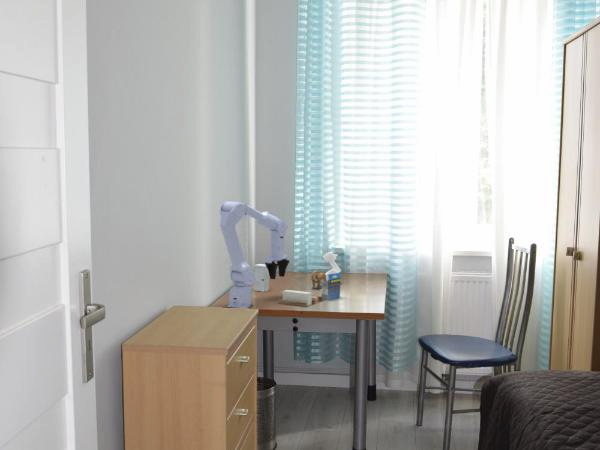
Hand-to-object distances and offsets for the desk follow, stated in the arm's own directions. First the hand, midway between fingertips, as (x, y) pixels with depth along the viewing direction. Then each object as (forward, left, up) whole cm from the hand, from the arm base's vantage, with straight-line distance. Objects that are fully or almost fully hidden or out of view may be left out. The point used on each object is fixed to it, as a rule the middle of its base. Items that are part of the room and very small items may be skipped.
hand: (277, 277), depth 312 cm
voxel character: (+51, -1, -10) cm, 52 cm away
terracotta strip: (+2, -13, -9) cm, 16 cm away
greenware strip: (-6, -13, -9) cm, 17 cm away
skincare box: (+16, +18, -10) cm, 26 cm away
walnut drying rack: (-2, -13, -10) cm, 16 cm away
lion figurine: (+38, -1, -10) cm, 39 cm away
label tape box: (+12, -20, -10) cm, 25 cm away
